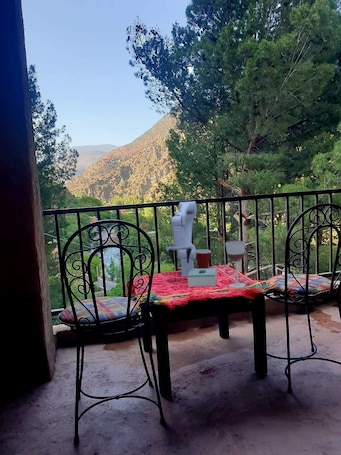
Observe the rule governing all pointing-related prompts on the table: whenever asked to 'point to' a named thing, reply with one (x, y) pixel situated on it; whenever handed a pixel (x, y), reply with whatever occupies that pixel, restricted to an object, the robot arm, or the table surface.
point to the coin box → (202, 277)
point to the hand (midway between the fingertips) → (180, 263)
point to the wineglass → (236, 257)
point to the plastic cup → (203, 258)
